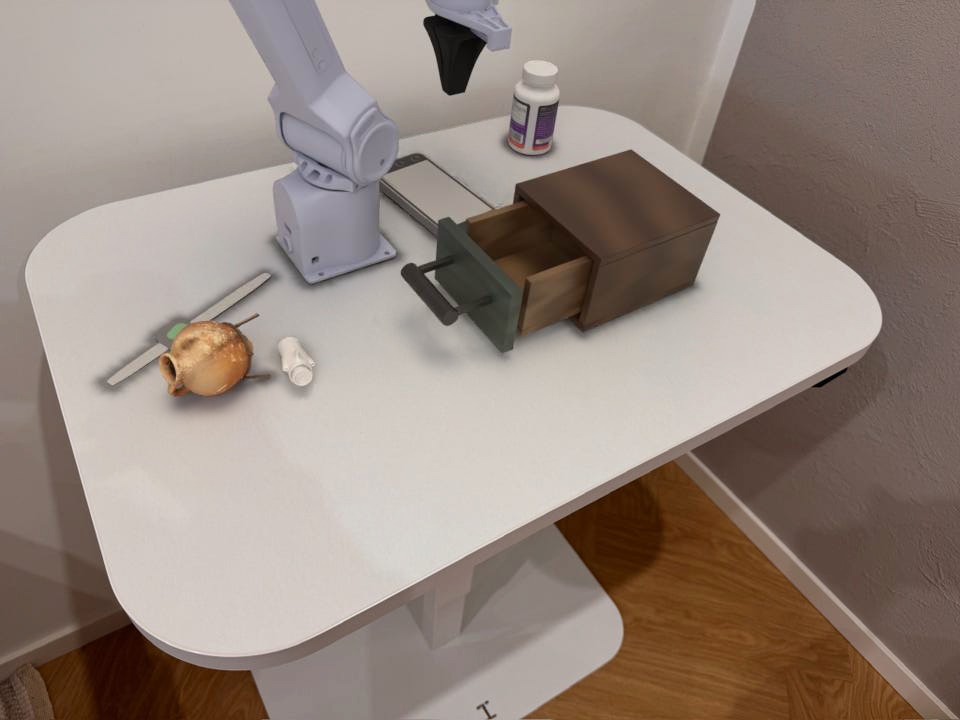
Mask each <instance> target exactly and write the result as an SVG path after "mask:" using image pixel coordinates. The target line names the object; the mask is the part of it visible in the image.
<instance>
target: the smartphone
mask: <svg viewBox="0 0 960 720" xmlns="http://www.w3.org/2000/svg"><path fill="white" fill-rule="evenodd" d="M379 191H381V192H383V193H384V194H385V195H386V196H387V197H389V199H391V200H392V201H394V202H395V203H396V204H397V205H398V206H399V207H401V208H402V209H403V210H404V211H405V212H407V213H408V214H409V215H411V217H413V218H414V219H415V220H416V221H418V222H419V223H420V224H421V225H422V226H424V227H425V228H426V229H427V230H428V231H430V233H432V234H433V235H434V236H436V237H437V232H438V220H440V219H443V218H446V217H450V218H451V219H452V220H453V221H454V222H455V223H456V224H457V225H458V226H459V227H460V228H461V229H462V230H463V231H464V232H465V224H466V219H467V218H470V217H473V216H476V215H479V214H483V213H486V212H489V211H492V210H495V209H497V208H496V207H495V206H494V205H492V204H491V203H489V202H488V201H487V200H485V199H484V198H483V197H481V195H479V194H478V193H477V192H475V191H474V190H472V189H471V188H469V187H468V186H467V185H465V183H463V182H462V181H461V180H459V179H458V178H456V177H455V176H454V175H452V174H451V173H450V172H448V171H447V170H446V169H445V168H443V167H442V166H440V165H439V164H438V163H437V162H435V160H433V159H431V158H430V157H428V156H427V155H426V154H424V153H423V152H420V151H415V152H412V153H409V154H405V155H403V156H400V157H396V159H395V161H394V163H393V165H392V167H391V168H390V170H389V171H388V172H387V174H386V175H385V176H384V177H382V178H381V179H380V180H379Z"/></svg>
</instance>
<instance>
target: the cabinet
mask: <svg viewBox="0 0 960 720" xmlns="http://www.w3.org/2000/svg"><path fill="white" fill-rule="evenodd" d="M524 200H526V201H527V202H528V203H529V204H530V205H531V206H533V207H534V208H535V209H536V210H537V211H538V212H539V213H540V214H542V215H543V216H544V217H545V218H546V219H547V220H548V221H549V222H551V223H552V224H553V225H554V226H555V227H556V228H557V229H558V230H560V231H561V232H562V233H563V234H564V235H565V236H566V237H567V238H569V239H570V240H571V241H572V242H573V243H574V244H575V245H576V246H578V247H579V248H580V249H581V250H582V251H583V252H584V253H585V254H587V255H588V256H589V257H590V258H591V259H592V260H593V261H594V264H593V268H592V272H591V276H590V280H589V284H588V287H587V291H586V295H585V299H584V303H583V307H582V311H581V312H580V313H578V314H575V315H573V316H571V317H568V318H567V319H568V320H569V321H570V322H571V323H572V324H573V325H574V326H576V328H577V329H578V330H579V331H580V332H581V333H585V332H586V331H589V330H591V329H594V328H596V327H598V326H601V325H603V324H605V323H608V322H610V321H612V320H615V319H617V318H620V317H622V316H624V315H626V314H629V313H631V312H633V311H636V310H638V309H641V308H643V307H645V306H647V305H649V304H652V303H654V302H656V301H659V300H661V299H664V298H666V297H668V296H671V295H673V294H675V293H678V292H680V291H682V290H685V289H687V288H689V287H691V286H694V284H695V282H696V279H697V277H698V274H699V271H700V269H701V266H702V264H703V261H704V258H705V256H706V254H707V251H708V249H709V245H710V244H711V240H712V238H713V235H714V233H715V231H716V228H717V226H718V223H719V219H720V217H721V213H720V212H718V211H717V210H715V209H714V208H713V207H712V206H710V205H708V203H706V202H704V201H703V200H702V199H700V198H699V197H698V196H696V195H695V194H693V193H692V192H691V191H690V190H689V189H687V188H685V187H684V186H683V185H681V184H680V183H678V182H677V181H676V180H675V179H673V178H672V177H671V176H669V175H668V174H666V173H665V172H663V171H662V170H661V169H659V168H658V167H656V165H654V164H652V163H651V162H650V161H648V160H647V159H646V158H644V156H641V155H640V154H639V153H637V152H636V151H634V149H627V150H624V151H620V152H616V153H613V154H611V155H607V156H605V157H601V158H597V159H594V160H591V161H586V162H584V163H581V164H577V165H574V166H570V167H568V168H563V169H561V170H558V171H554V172H550V173H547V174H544V175H541V176H536V177H535V178H531V179H527V180H524V181H521V182H517V183H515V185H514V193H513V199H512V204H514V203H518V202H521V201H524Z"/></svg>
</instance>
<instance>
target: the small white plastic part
mask: <svg viewBox="0 0 960 720" xmlns="http://www.w3.org/2000/svg"><path fill="white" fill-rule="evenodd" d="M277 344H278V345H277V351H278V354H279V355H280V358H281V370H282V371H283V372H286V373H287V375H288V377H289V380H290V381H291V382H292V383H293V384H295V385H296V386H298V387H305V386H306V385H309V384H310V383H311V382H312V380H313V376H314V370H313V367H314V366H316V363H315V361H314V359H312V358H311V357H310V356H309V355H308V354H307V353H306V351H305V350H304V348H303V346H302V344H301V342H300V340H299V339H297V338H296V337H295V336H285V337H283V338H282V339H280V341H279V342H278V343H277Z"/></svg>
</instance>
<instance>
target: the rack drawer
mask: <svg viewBox="0 0 960 720" xmlns="http://www.w3.org/2000/svg"><path fill="white" fill-rule="evenodd" d="M593 264H594V261H593V260H592V259H591V258H590V257H589V256H588V255H587V254H585V253H584V252H583V251H582V250H581V249H580V248H579V247H578V246H576V245H575V244H574V243H573V242H572V241H571V240H570V239H569V238H567V237H566V236H565V235H564V234H563V233H562V232H561V231H560V230H558V229H557V228H556V227H555V226H554V225H553V224H552V223H551V222H549V221H548V220H547V219H546V218H545V217H544V216H543V215H542V214H540V213H539V212H538V211H537V210H536V209H535V208H534V207H533V206H531V205H530V204H529V203H528V202H527V201H526V200H524V201H521V202H518V203H514V204H513V203H512V204H508V205H505V206H502V207H499V208H496V209H495V210H492V211H489V212H486V213H483V214H479V215H476V216H473V217H470V218H467V219H466V224H465V232H464V231H463V230H462V229H461V228H460V227H459V226H458V225H457V224H456V223H455V222H454V221H453V220H452V219H451V218H450V217H446V218H443V219H440V220H438V232H437V236H436V251H435V260H433V261H432V260H431V261H429V262H426V263H423V264H421V265H417V264H416V263H414V262H408V263H406V264H405V265H403V267H401V270H400V276H401V277H402V279H403V280H404V281H405V282H406V283H407V285H408V286H409V287H410V288H411V289H412V290H413V292H414V293H415V295H417V296H418V297H419V299H420V300H421V301H422V302H423V303H424V304H425V306H426V307H427V308H428V309H429V310H430V311H431V312H432V314H433V315H434V316H435V317H436V318H437V319H438V320H439V323H441V324H442V325H443V326H445V327H449V326H451V325H453V324H455V323H456V322H457V320H458V319H459V317H460V316H463V315H464V314H465V315H467V316H468V318H469V319H470V320H471V321H472V322H473V323H474V324H475V325H476V326H477V327H478V328H479V329H480V331H481V332H482V333H483V334H484V336H486V338H487V339H488V340H489V341H490V342H491V343H492V345H494V346H495V348H496V349H497V350H498V351H499V352H500V353H501V354H502V355H503V354H505V353H508V352H510V351H512V350H514V346H515V342H516V341H515V340H516V335H517V334H518V336H520V337H522V338H523V337H524V336H527V335H529V334H531V333H534V332H537V331H539V330H541V329H544V328H546V327H548V326H551V325H554V324H556V323H559V322H561V321H563V320H566V319H568V317H571V316H573V315H575V314H578V313H580V312H581V311H582V307H583V303H584V299H585V295H586V291H587V287H588V284H589V280H590V276H591V272H592V268H593ZM433 271H434V279H435V281H436V282H437V283H438V284H439V285H440V286H441V287H442V289H443V290H444V291H445V292H446V293H447V294H448V295H449V297H450V298H451V299H452V300H453V301H454V302H455V303H456V304H457V306H455V307H454V305H452V303H451V302H450V301H449V300H448V299H447V298H446V296H444V295H443V293H442V292H441V291H440V290H439V289H438V287H436V285H435V284H434V283H433V282H432V281H431V280H430V279H429V278H428V277H427V276H426V274H427V273H430V272H433Z"/></svg>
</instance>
